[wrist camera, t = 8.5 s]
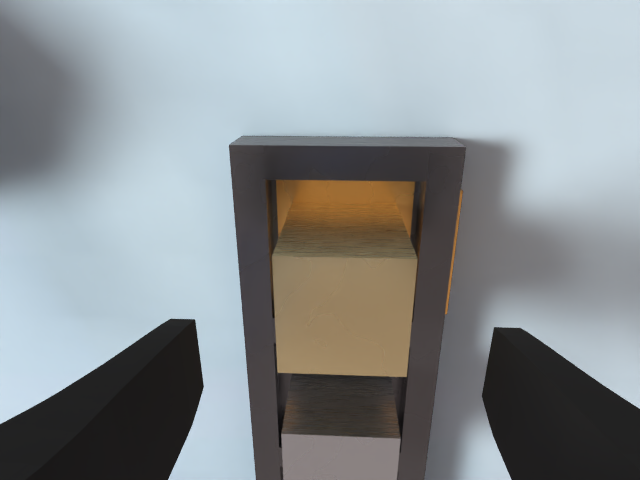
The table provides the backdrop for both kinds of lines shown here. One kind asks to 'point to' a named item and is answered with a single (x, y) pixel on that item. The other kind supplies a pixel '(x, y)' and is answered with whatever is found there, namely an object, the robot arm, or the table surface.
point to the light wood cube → (343, 290)
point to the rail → (346, 187)
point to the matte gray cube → (340, 428)
